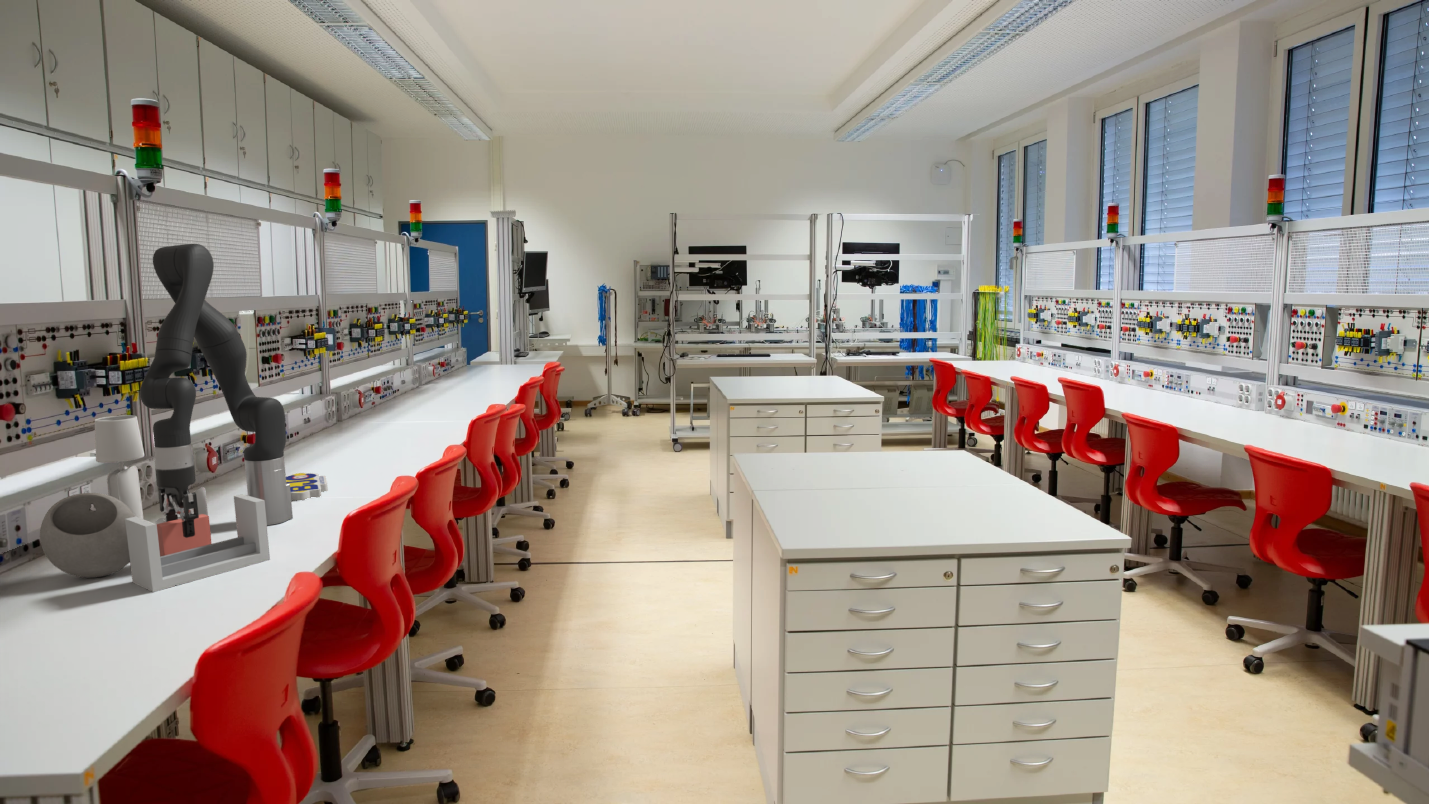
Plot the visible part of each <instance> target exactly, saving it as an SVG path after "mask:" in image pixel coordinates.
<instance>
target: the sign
mask: <svg viewBox="0 0 1429 804" xmlns="http://www.w3.org/2000/svg"><path fill="white" fill-rule="evenodd" d="M286 483H289V484H290V491H291V501H294V500H302V501H306V500H305V499H307V498H309V499H312V498H311V497H316V498H321V497H322V493H325V492H324V491H326V492H328V491H329V488H328V481H327V476H326V475H319V474H318V473H315V472H295V473H292V474H289V475H286ZM320 496H321V497H320ZM307 500H308V499H307Z"/></svg>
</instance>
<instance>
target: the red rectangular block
mask: <svg viewBox="0 0 1429 804" xmlns="http://www.w3.org/2000/svg"><path fill="white" fill-rule="evenodd" d="M194 528H195V535H194V536H192V537H188V538H185V537H184V536H183V528H182V520H181V519H178V520H173V521H169V522H164V523H160V524H157V533H158V542H159V550H160V557H161V556H165V555H169V554H173V553H177V552H181V551H185V550H189V549H193V548H197V547H201V546H205V545H209V544H213V543H212V534H211V524H210V516H209V515H208V516H207V515H204V514H200V515H199V518H196V519H195V520H194Z"/></svg>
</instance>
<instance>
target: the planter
mask: <svg viewBox="0 0 1429 804" xmlns="http://www.w3.org/2000/svg"><path fill="white" fill-rule="evenodd" d="M92 505H93V508H94V509H95V510H92V509H91V508H92ZM131 517H136V516H135V515H134V513H133V512H132V511H131V509H130V508H129V507H128V506H127V505H125V504H124V503H123V502H122V501H120V500H118V499H116V498H114V497H112V496H109V495H108V494H105V493H100V492H99V493H98V492H83V493H75V494H72V495H69V496H66V497H63V498H62V499H60V500H58V501H57V502H55V503H54V504H53V505H52V506H51V507H50V508H49V509H48V510H47V512H46V514H45V516H44V517H43V520H42V522H41V524H40V529H39V541H40V545H41V548H42V550H43V553H44V555H45V556H46V558H47V559H48V561H49V562H50V563H51V564H52V565H53V566H54V567H55V568H57V569H59V570H60V571H61V572H63V573H66V574H68V575H70V576H75V577H79V578H87V579H88V578H91V579H92V578H101V577H106V576H109V575H112V574H114V573H116V572H119V571H120V570H122V569H123V568H125V567H126V566H128V564H129V563H130V556H129V548H128V539H127V531H126V523H125V519H127V518H131Z"/></svg>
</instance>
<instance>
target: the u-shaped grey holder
mask: <svg viewBox="0 0 1429 804" xmlns="http://www.w3.org/2000/svg"><path fill="white" fill-rule="evenodd" d="M233 503H234V512H235V513H234V514H235V525H236V533H237V534H236V535H237V537H234V538H229V539H227V540H226V539H225V540H221V541H218V542H215V543H212V544H209V545H205V546H201V547H197V548H193V549H189V550H185V551H181V552H177V553H173V554H169V555H165V556H161V557H160V550H159V542H158V533H157V524H155V522H152V521H149V520H146V519H144V518H143V519H141V518H138V517H131V518H127V519H125V523H126V531H127V539H128V548H129V556H130V562H129V563H130V570H131V571H130V574H131V581H132V583H133V584H135V585H137V586H139V587H141V588H143V589H146V590H147V589H148V591H150V592H152V593H155V591H156V592H159V591H162V589H163V590H166V589H169V588H173V587H176V586H175V585H177V586H180V585H179V584H181V585H183V584H188V583H191V582H195V581H199V580H202V579H205V578H206V579H207V578H210V577H213V576H217V575H220V574H223V573H227V572H229V571H234V570H238V569H242V568H244V567H248V566H252V565H256V564H259V563H263V562H266V561H270V560H271V558H270V557H271V556H270V547H269V546H270V545H269V543H270V542H269V536H268V534H269V533H268V525H267V522H266V511H265V500H262V499H258V498H255V497H251V496H248V494H244V493H242V494H236V495H233ZM158 590H159V591H158Z"/></svg>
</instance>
